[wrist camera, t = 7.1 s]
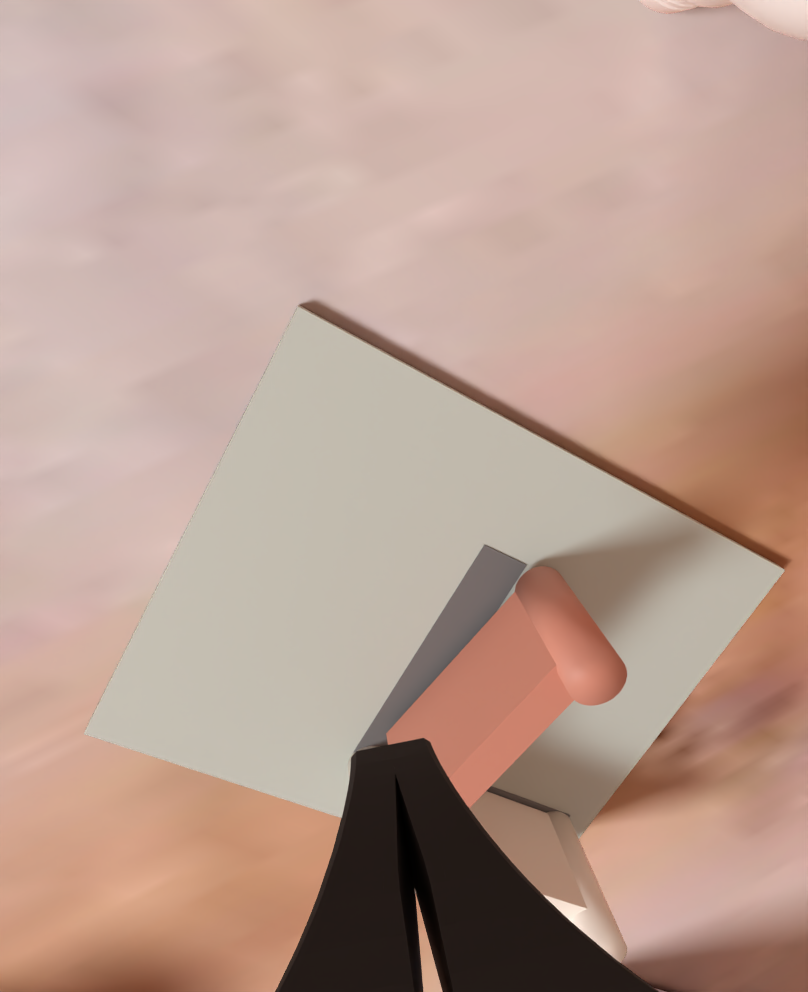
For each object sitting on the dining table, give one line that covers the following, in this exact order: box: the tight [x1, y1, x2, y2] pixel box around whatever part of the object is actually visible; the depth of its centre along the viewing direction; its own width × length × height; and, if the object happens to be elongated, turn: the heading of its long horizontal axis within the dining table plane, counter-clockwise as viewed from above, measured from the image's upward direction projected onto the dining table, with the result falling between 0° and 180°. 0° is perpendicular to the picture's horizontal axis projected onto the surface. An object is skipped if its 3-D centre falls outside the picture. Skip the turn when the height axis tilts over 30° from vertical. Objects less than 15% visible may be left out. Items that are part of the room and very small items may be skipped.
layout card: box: [84, 305, 785, 839], centre depth 24 cm, size 18×15×1 cm
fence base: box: [348, 746, 627, 963], centre depth 24 cm, size 9×2×6 cm, turn 60°
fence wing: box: [386, 566, 627, 808], centre depth 22 cm, size 8×2×5 cm, turn 141°
